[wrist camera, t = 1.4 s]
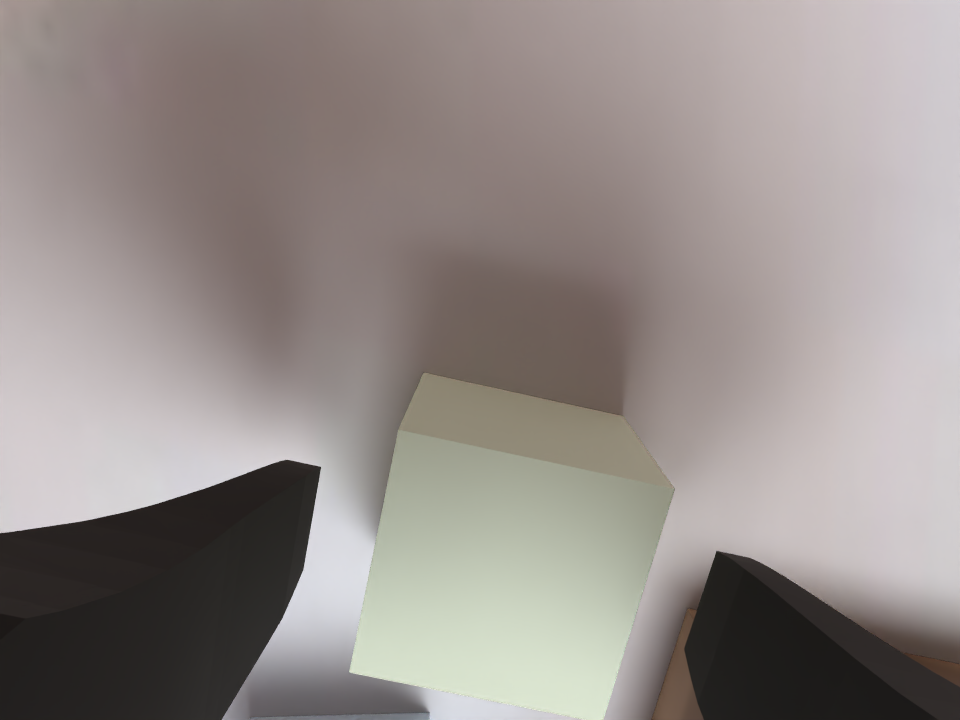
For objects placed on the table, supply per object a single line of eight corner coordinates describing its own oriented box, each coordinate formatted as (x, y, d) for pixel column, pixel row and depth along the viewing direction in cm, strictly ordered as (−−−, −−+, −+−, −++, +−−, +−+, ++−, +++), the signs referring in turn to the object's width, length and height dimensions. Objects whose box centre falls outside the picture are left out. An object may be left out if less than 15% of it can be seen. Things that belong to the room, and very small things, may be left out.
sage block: (386, 552, 15) (349, 672, 11) (424, 371, 14) (397, 429, 10) (571, 590, 15) (602, 723, 11) (621, 414, 14) (675, 488, 10)
